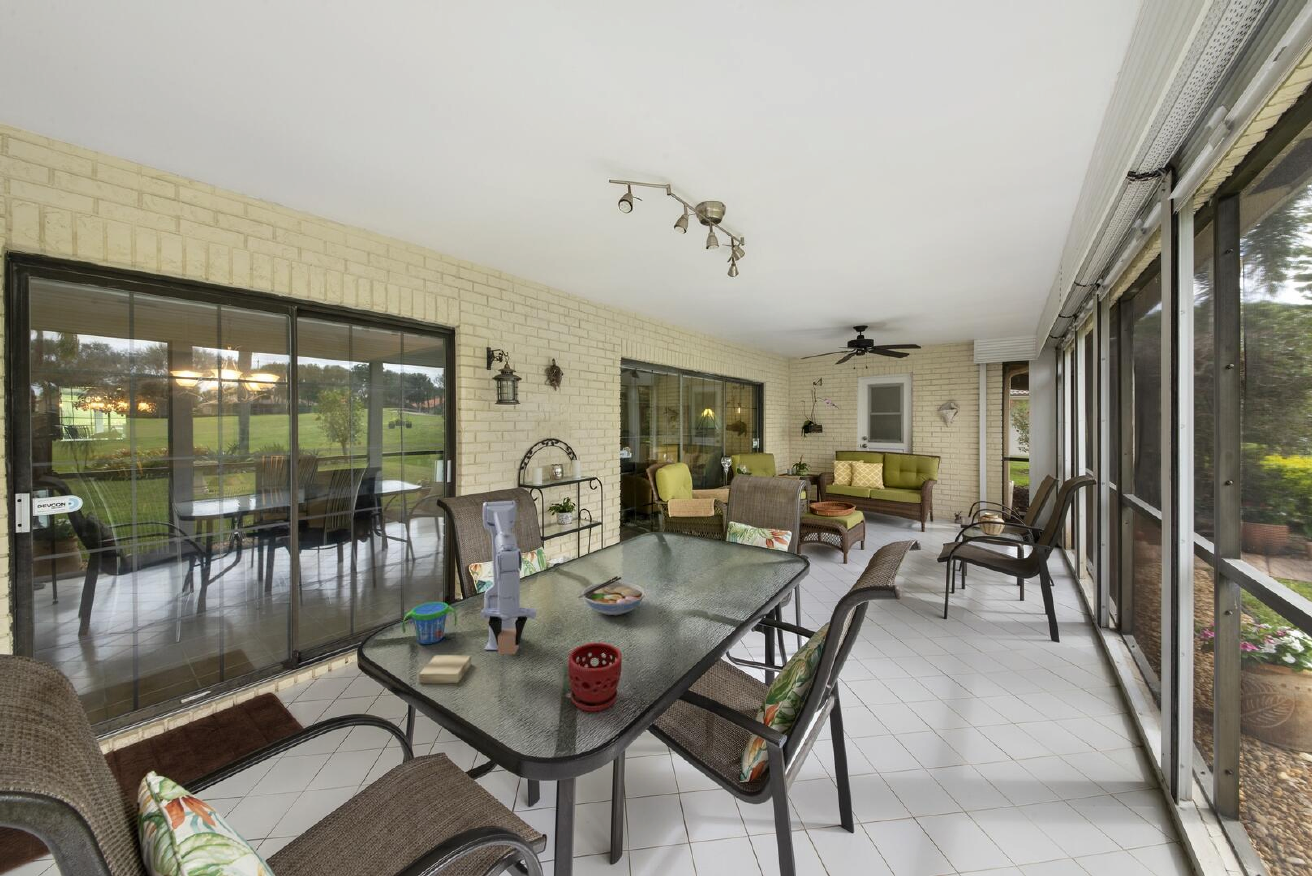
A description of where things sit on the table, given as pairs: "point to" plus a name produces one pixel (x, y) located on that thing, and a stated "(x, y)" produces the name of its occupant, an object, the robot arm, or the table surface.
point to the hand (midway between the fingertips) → (508, 643)
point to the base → (445, 669)
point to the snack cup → (429, 621)
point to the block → (507, 641)
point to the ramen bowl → (613, 596)
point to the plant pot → (594, 676)
